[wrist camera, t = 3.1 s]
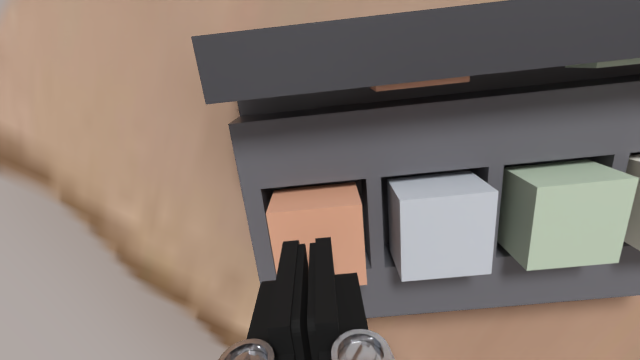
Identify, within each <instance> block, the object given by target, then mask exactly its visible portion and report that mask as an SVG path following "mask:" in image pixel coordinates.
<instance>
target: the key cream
mask: <svg viewBox="0 0 640 360" xmlns="http://www.w3.org/2000/svg"><path fill="white" fill-rule="evenodd" d="M626 173H627V174H630V175H632V176H635V177H638V178H639V180H638V184H637V189H636V193H635V197H634V201H633V205H632V209H631V213H630V218H629V222H628V226H627V230H626V234H625V238H624V242H626V243H627V244H629V245H631V246H632V247H634V248H636V249H638V250H639V251H640V154H637V155H630V156H629V160H628V165H627V169H626Z"/></svg>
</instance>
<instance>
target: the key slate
mask: <svg viewBox="0 0 640 360" xmlns="http://www.w3.org/2000/svg"><path fill="white" fill-rule="evenodd" d="M387 190H388V218H389V246H390V252H391V255H392V257H393V260H394V263H395V265H396V268H397V271H398V273H399V276H400V279H401V281H402V282H405V281H416V280H428V279H439V278H451V277H462V276H474V275H485V274H491V272H492V261H493V249H494V238H495V227H496V215H497V204H498V192H499V191H498V190H496V189H495V188H493V187H492V186H491V185H489V184H488V183H486V182H485V181H484V180H482V179H481V178H479V177H478V176H477V175H475V174H474V173H472V172H471V171H463V172H453V173H442V174H432V175H422V176H412V177H401V178H391V179H387Z"/></svg>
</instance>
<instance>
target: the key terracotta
mask: <svg viewBox="0 0 640 360" xmlns="http://www.w3.org/2000/svg"><path fill="white" fill-rule="evenodd" d="M266 218H267V223H268V229H269V235H270V240H271V246H272V252H273V257H274V263H275V269H276V274H277V271H278V265H279V260H280V254H281V249H282V244H283V242H284V241H294V240H299V243H300V244H305V245H306V252H307V259H308V267H309V248H310V243H315V238H324V237H331V244H332V253H333V263H334V272H335V274H346V273H356V272H357V275H358V280H359V285H367V274H366V259H365V244H364V229H363V213H362V203H361V200H360V196H359V193H358V190H357V186H356V183H355V182H350V183H340V184H330V185H320V186H309V187H299V188H289V189H279V190H274V192H273V194H272V197H271V200H270V203H269V206H268V209H267V211H266Z"/></svg>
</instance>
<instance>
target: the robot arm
mask: <svg viewBox="0 0 640 360" xmlns="http://www.w3.org/2000/svg"><path fill="white" fill-rule="evenodd" d="M219 360H395V359H394V356H393V354H392V352H391V350H390V347H389V345H388V344H387V342H386V341H385V339H384V338H382V337H381V336H380V335H379V334H377V333H375V332H373V331H370V330H368V326H367V321H366V315H365V310H364V305H363V300H362V295H361V290H360V285H359V280H358V275H357V272H356V273H346V274H335V272H334V263H333V253H332V244H331V237H324V238H315V243H310V248H309V267H308V259H307V252H306V245H305V244H300V243H299V240H294V241H284V242H283V244H282V249H281V254H280V260H279V265H278V271H277V276H276V280H271V281H262V282H261V285H260V288H259V292H258V296H257V300H256V304H255V308H254V312H253V316H252V320H251V324H250V328H249V332H248V336H247V339H246V340H243V341H240V342H237V343H235V344H234V345H232V346H230V347H229V348H228V349H227V350H226V351H225V352H224V353H223V354H222V355H221V357H220V358H219Z"/></svg>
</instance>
